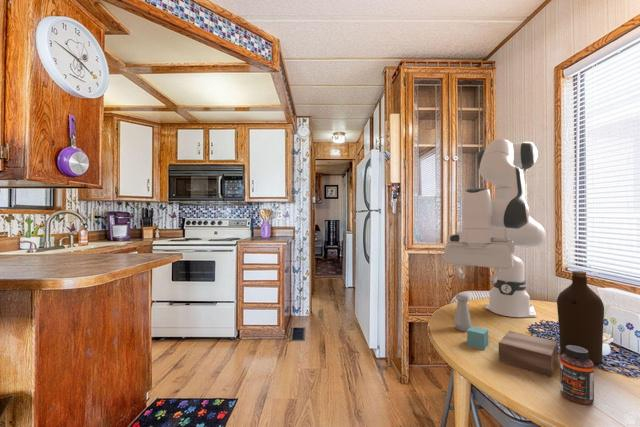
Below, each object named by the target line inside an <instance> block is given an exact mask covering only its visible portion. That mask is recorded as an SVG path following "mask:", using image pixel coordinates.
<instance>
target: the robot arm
mask: <svg viewBox="0 0 640 427" xmlns="http://www.w3.org/2000/svg"><path fill="white" fill-rule="evenodd" d="M486 146H487V147H485V148H483V149H481V150H479V151H478V152H477V156H476V165H477V167H478V169H479V174H480V176H481V177H482V179H483V180H485V181H486V182H488V183H490V184H493V185H494V198H492V195H491V191H490V189H489V188H486V187H474V188H473V187H472V188H468V189H465V190H464V191H463V197H462V202H461V217H462V225H461V232H456V233H453V234H449V235H447V236H446V241H447V243H446V244H445V246H444V251H443V261H444V262H445V263H446V264H449V265H454V267H455V270H456V271H457V273H458V278H459V279H462V280H463V279H465V278H466V276H465V275H466V273H465V272H463V271H462V266H469V267H481V268H490V269H491V268H492V269H493V275H490V277H489V279H490V283H492V286H493V287H492V288H491V289H490V290H489V294H488V304H486V305H485V306H484V309H486V310H489V311H491V312H492V313H494V314H497V315H501V316H506V317H512V318H537V313H536V310H535V307H534V305H533V304H532V303H531V302H530V301H531V300H530V299H531V298H530V297H531V296H530V295H529V293H528V292H527V290H526V289H527V282H526V280H525V264H524V261H523V260H522V259H521V258H519V257H518V256H517V255H514V254H513V253H514V252H515V248H524V249H527V248H528V249H529V248H536V247H538V248H539V247H541V245H543V243H544V242H545V240H546V236H547V234H546V233H547V232H546V230H545V228H544V227H543V225H541V223H539V222H537V221H536V220H534V218H532V217H531V214H530V208H529V205H528V202H527V199H526V198H527V196H526V190H525V177H524V173H526V172H528V170H529V169H530V168H532V167H533V166H534V165H535V164H536V161H537V158H538V155H539V154H538V150H537V149H538V148H537V147H536V145H535V144H534V143H533V142H532V141H522V142H510V141H509V140H507V139H504V138H498V139H494V140H492V141H490V142H489V144H488V145H486ZM523 171H524V172H523Z"/></svg>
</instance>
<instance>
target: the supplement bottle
mask: <svg viewBox="0 0 640 427" xmlns="http://www.w3.org/2000/svg"><path fill="white" fill-rule="evenodd" d="M565 352H566V353H565V354H561V355H560V359H559V360H560V361H559V362H560V364H559V365H560V366H559V368H560V370H559V374H560V375H559V376H560V378H559V380H560V381H559V382H560V384H559V385H560V386H559V389H560V394H561V395H562V396H563V397H564V398H566V399H568V400H569V401H571V402H574V403H576V404H580V405H591V404H594V402H595V365H594V364H593V362H592V361H591V360H590V359H589V358H588V351H587V350H586V349H584V348H582V347H579V346H574V345H567V346H566V350H565Z"/></svg>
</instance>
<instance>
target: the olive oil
mask: <svg viewBox="0 0 640 427" xmlns="http://www.w3.org/2000/svg"><path fill="white" fill-rule="evenodd" d="M571 273H572V275H571V284H569V286H567V287H566V288H565V289H563V290H562V291H561V292H559V294H558V296H557V298H556V308H557V320H558V333H559V334H558V335H559V351H560V354H561V355H562V354H565V353H566V352H565V350H566V346H567V345H574V346H579V347H582V348H584V349H586V350H587V351H588V358H589V359H590V360H591V361H592V362H593V364H595V365H596V364H601V363H602V362H603V343H604V342H603V340H604V339H603V338H604V321H605V305H604V302H603V301H602V298H601V296H599V294H597V293H596V292H595V291H594V290H593V289H592V288H590V287H589V286H588V282H587V281H588V277H587V272H586V271H583V270H573V271H572V272H571Z"/></svg>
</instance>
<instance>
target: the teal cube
mask: <svg viewBox="0 0 640 427" xmlns="http://www.w3.org/2000/svg"><path fill="white" fill-rule="evenodd" d="M466 342H467V343H466V345H467V347H473V348H477V349H479V350H484V351H485V350H486V348H487V347H488V346H489V329H488V328H483V327H479V326H475V325H471V327H470V328H469V329H468V330H467V331H466Z"/></svg>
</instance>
